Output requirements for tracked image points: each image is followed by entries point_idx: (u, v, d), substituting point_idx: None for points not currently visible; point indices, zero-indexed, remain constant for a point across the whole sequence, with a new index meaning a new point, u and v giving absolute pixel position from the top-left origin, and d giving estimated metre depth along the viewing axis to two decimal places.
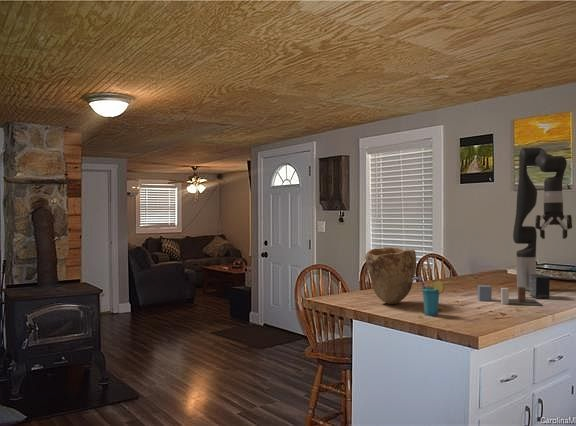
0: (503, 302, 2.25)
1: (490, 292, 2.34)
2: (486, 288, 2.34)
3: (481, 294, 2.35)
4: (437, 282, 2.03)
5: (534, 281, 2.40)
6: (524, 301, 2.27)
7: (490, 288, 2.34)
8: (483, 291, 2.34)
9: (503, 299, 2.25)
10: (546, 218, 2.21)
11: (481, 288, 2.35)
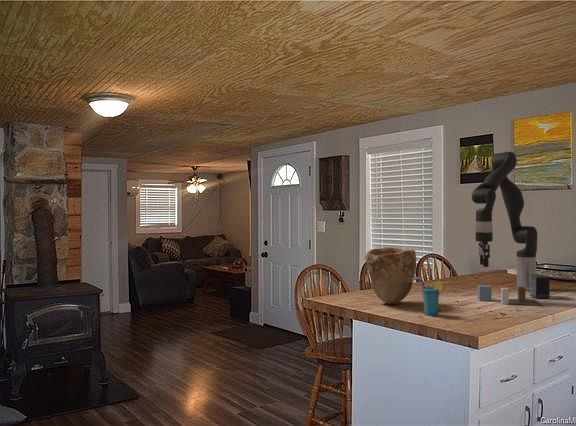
0: (503, 302, 2.25)
1: (490, 292, 2.34)
2: (486, 288, 2.34)
3: (481, 294, 2.35)
4: (437, 282, 2.03)
5: (534, 281, 2.40)
6: (524, 301, 2.27)
7: (490, 288, 2.34)
8: (483, 291, 2.34)
9: (503, 299, 2.25)
10: None
11: (481, 288, 2.35)
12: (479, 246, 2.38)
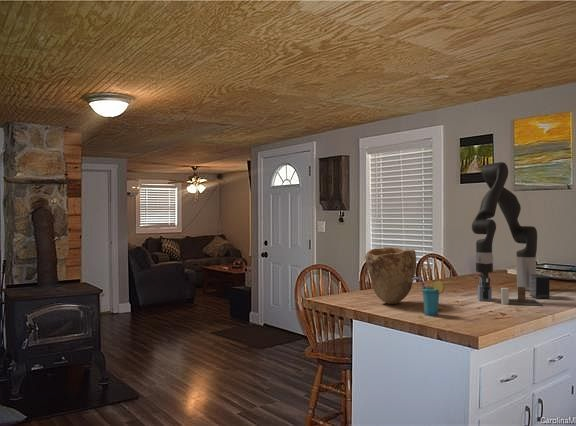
0: (503, 302, 2.25)
1: (490, 292, 2.34)
2: None
3: (481, 294, 2.35)
4: (437, 282, 2.03)
5: (534, 281, 2.40)
6: (524, 301, 2.27)
7: (490, 288, 2.34)
8: None
9: (503, 299, 2.25)
10: None
11: (481, 288, 2.35)
12: (479, 276, 2.38)
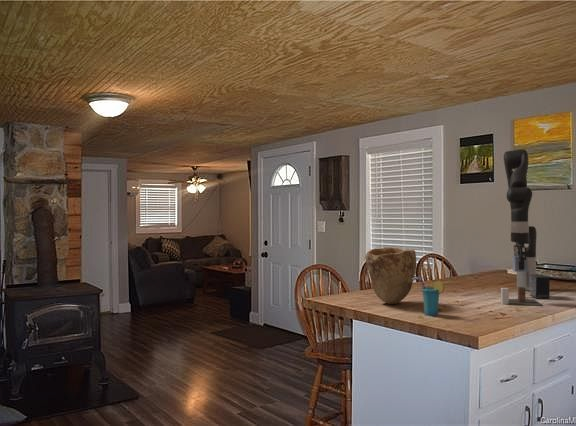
0: (503, 302, 2.25)
1: (526, 262, 2.26)
2: None
3: (517, 264, 2.27)
4: (437, 282, 2.03)
5: (534, 281, 2.40)
6: (524, 301, 2.27)
7: (526, 258, 2.26)
8: None
9: (503, 299, 2.25)
10: None
11: (517, 258, 2.27)
12: (514, 246, 2.30)
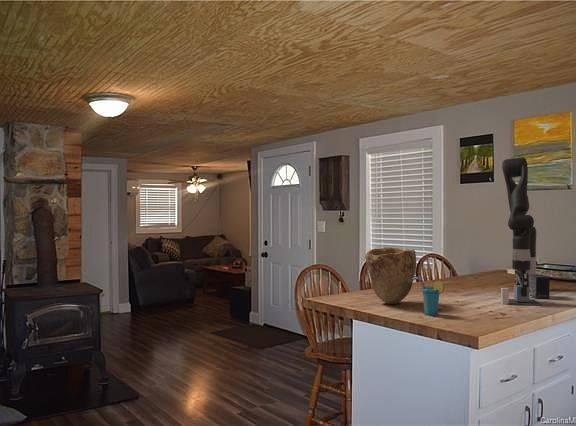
0: (503, 302, 2.25)
1: (528, 292, 2.26)
2: None
3: (518, 294, 2.27)
4: (437, 282, 2.03)
5: (534, 281, 2.40)
6: None
7: (528, 288, 2.26)
8: (520, 291, 2.27)
9: (503, 299, 2.25)
10: None
11: (518, 288, 2.27)
12: (516, 274, 2.30)
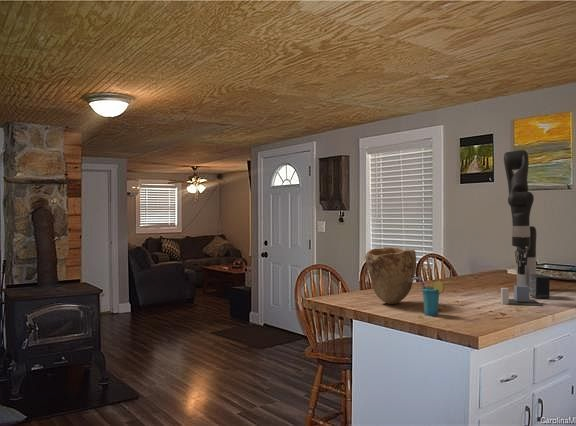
0: (503, 302, 2.25)
1: (528, 292, 2.26)
2: (524, 288, 2.26)
3: (518, 294, 2.27)
4: (437, 282, 2.03)
5: (534, 281, 2.40)
6: None
7: (528, 288, 2.26)
8: (520, 291, 2.27)
9: (503, 299, 2.25)
10: None
11: (518, 288, 2.27)
12: (516, 250, 2.30)
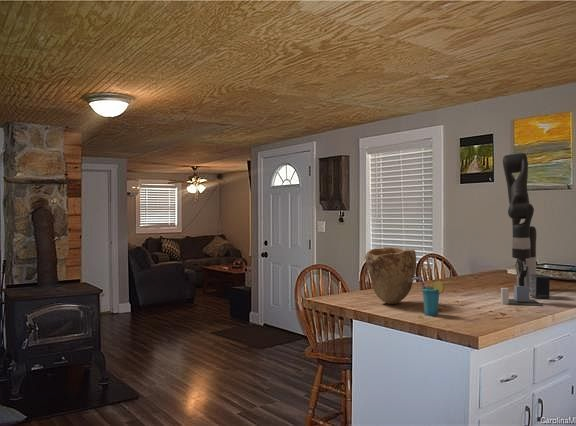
0: (503, 302, 2.25)
1: (528, 292, 2.26)
2: (524, 288, 2.26)
3: (518, 294, 2.27)
4: (437, 282, 2.03)
5: (534, 281, 2.40)
6: None
7: (528, 288, 2.26)
8: (520, 291, 2.27)
9: (503, 299, 2.25)
10: None
11: (518, 288, 2.27)
12: (516, 262, 2.30)
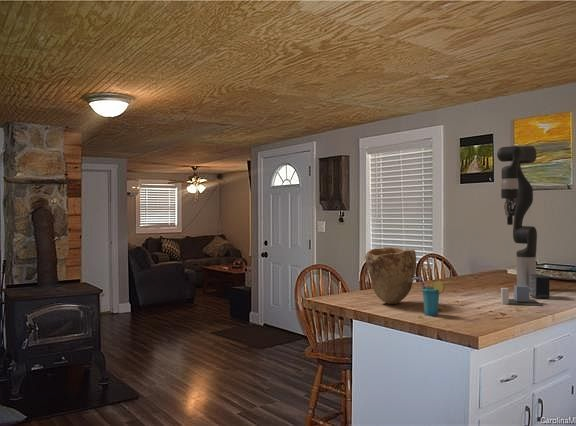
0: (503, 302, 2.25)
1: (528, 292, 2.26)
2: (524, 288, 2.26)
3: (518, 294, 2.27)
4: (437, 282, 2.03)
5: (534, 281, 2.40)
6: None
7: (528, 288, 2.26)
8: (520, 291, 2.27)
9: (503, 299, 2.25)
10: None
11: (518, 288, 2.27)
12: (505, 202, 2.42)
